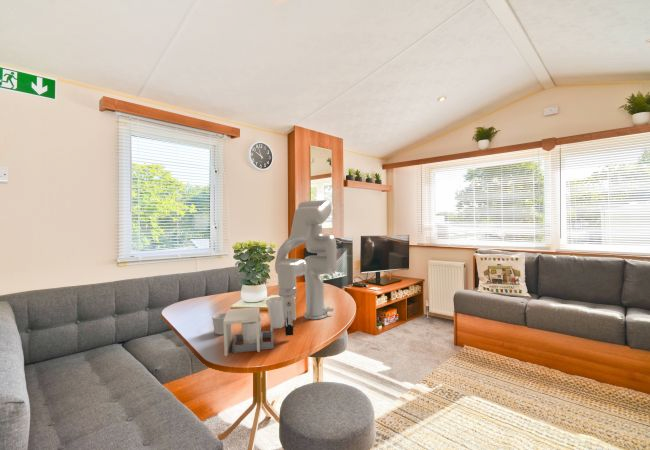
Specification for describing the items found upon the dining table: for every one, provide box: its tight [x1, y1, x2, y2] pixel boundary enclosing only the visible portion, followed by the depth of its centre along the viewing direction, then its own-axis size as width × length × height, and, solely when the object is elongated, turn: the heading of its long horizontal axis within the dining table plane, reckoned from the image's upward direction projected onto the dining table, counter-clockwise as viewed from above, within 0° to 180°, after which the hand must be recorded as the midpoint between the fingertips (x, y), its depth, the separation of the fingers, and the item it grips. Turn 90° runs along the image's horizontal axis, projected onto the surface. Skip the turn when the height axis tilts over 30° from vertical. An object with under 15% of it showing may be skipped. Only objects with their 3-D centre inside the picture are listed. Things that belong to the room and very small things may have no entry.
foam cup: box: [266, 296, 285, 329], centre depth 145 cm, size 10×9×13 cm
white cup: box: [240, 318, 262, 345], centre depth 125 cm, size 8×8×10 cm
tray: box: [231, 326, 275, 354], centre depth 125 cm, size 16×13×4 cm
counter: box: [223, 306, 261, 357], centre depth 124 cm, size 13×16×13 cm
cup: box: [212, 312, 227, 336], centre depth 140 cm, size 11×8×8 cm
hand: (289, 334), depth 128 cm, fingers closed
